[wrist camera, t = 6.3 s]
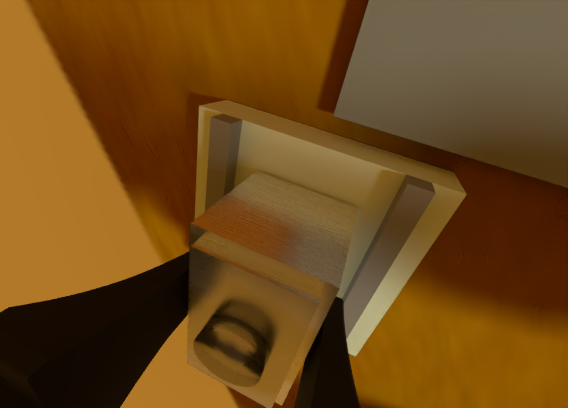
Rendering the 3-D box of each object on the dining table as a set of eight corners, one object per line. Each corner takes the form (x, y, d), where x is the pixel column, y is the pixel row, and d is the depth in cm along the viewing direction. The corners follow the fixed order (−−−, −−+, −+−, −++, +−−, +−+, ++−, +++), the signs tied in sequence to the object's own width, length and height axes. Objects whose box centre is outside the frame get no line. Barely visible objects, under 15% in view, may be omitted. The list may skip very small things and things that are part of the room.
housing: (310, 316, 16) (270, 440, 10) (237, 282, 17) (167, 381, 11) (358, 208, 12) (331, 326, 6) (257, 170, 12) (160, 246, 7)
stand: (453, 172, 12) (473, 205, 9) (359, 323, 18) (353, 372, 15) (227, 99, 14) (185, 108, 11) (212, 256, 21) (183, 287, 18)
